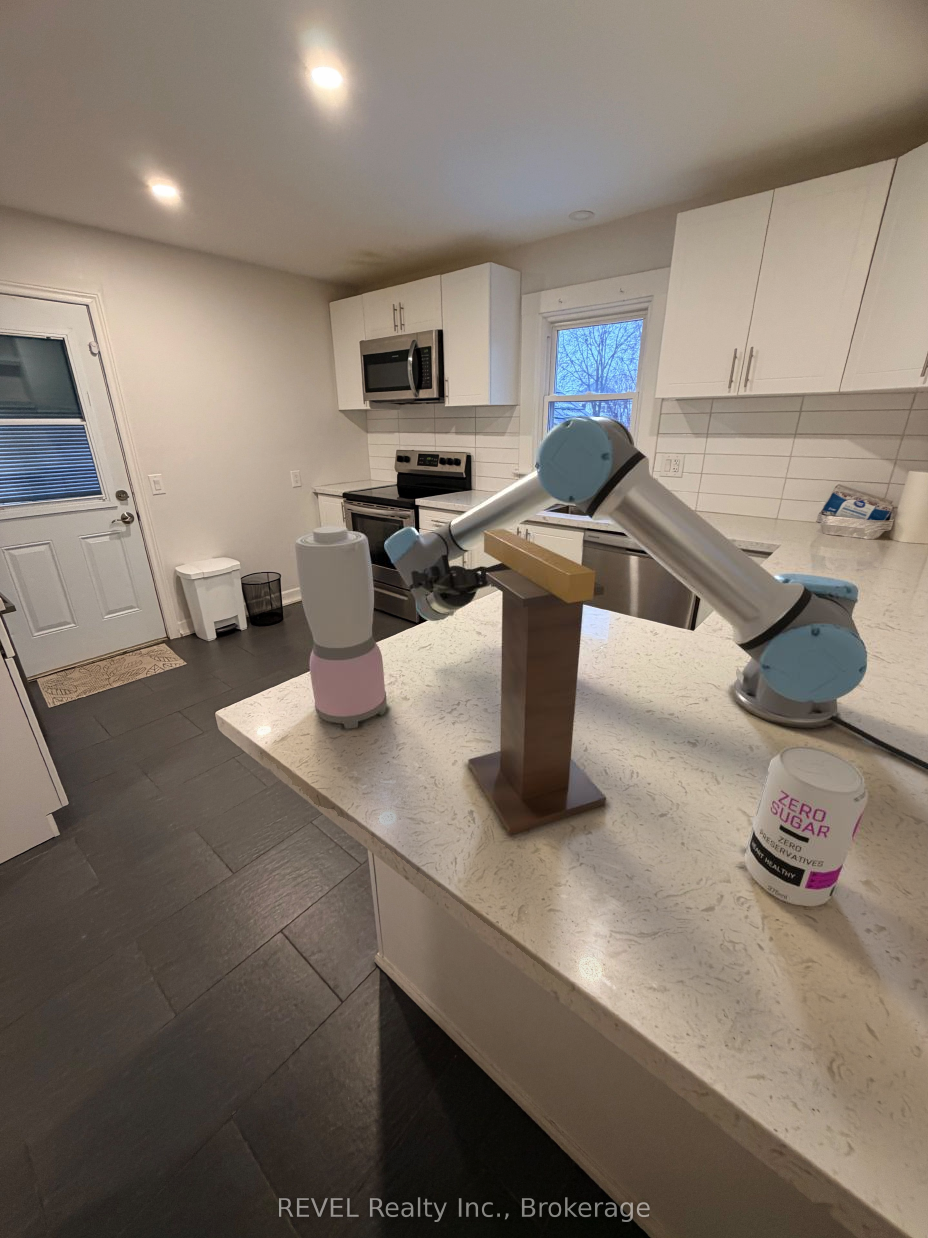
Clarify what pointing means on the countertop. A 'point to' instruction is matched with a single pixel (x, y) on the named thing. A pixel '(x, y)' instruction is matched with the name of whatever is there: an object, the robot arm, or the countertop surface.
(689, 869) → the countertop surface
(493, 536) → the golden brown bar
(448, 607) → the robot arm
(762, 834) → the supplement can
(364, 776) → the countertop surface
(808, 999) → the countertop surface
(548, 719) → the brown pedestal stand
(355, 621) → the blender
